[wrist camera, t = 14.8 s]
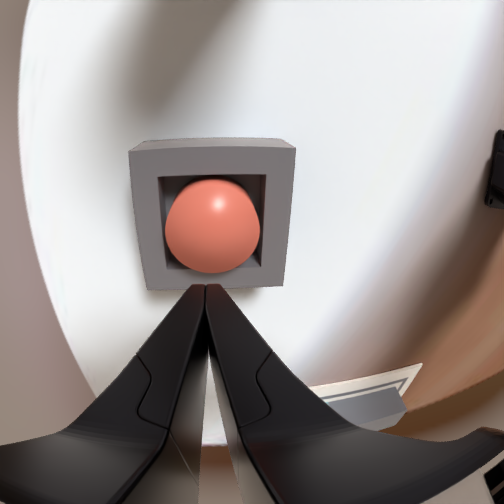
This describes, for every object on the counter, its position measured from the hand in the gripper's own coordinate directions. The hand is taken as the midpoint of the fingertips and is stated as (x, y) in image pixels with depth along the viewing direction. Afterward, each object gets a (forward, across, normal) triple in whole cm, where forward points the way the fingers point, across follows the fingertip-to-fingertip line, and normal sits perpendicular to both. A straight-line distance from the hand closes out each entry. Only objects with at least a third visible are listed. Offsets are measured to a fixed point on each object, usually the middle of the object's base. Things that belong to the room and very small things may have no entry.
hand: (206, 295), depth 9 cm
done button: (+6, 0, 0) cm, 6 cm away
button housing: (+8, 0, 0) cm, 8 cm away
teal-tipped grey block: (+8, -14, +23) cm, 28 cm away
